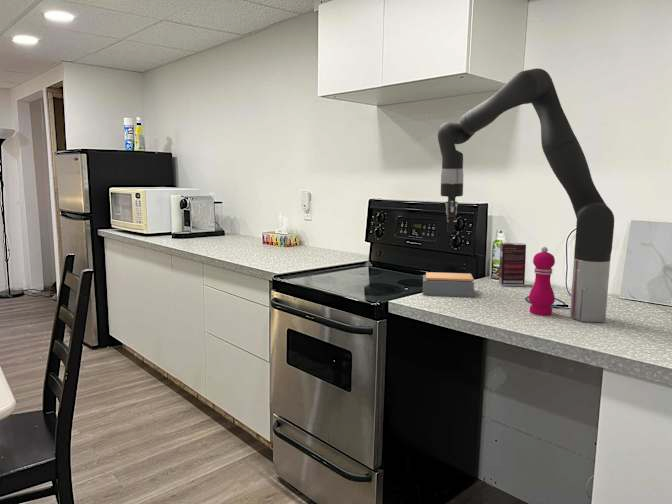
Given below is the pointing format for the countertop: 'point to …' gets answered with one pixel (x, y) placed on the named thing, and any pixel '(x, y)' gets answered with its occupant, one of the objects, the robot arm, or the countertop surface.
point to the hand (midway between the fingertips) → (450, 232)
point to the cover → (449, 276)
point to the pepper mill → (542, 284)
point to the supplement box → (512, 264)
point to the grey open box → (447, 288)
